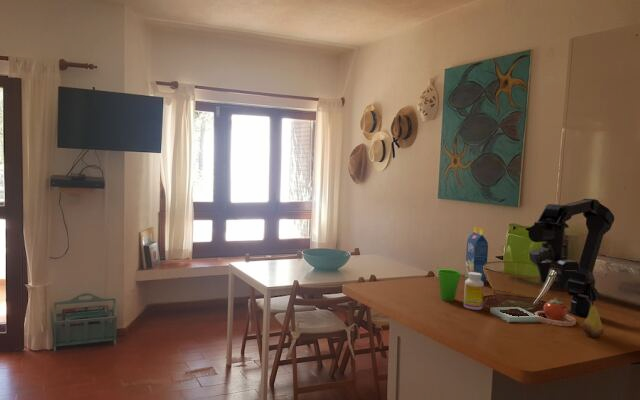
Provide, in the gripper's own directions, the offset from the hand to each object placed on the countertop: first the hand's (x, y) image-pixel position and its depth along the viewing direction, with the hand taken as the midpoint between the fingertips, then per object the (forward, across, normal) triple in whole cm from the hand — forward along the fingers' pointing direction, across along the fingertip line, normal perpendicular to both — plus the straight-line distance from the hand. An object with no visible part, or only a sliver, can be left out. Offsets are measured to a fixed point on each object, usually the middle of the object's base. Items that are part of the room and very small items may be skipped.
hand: (552, 285), depth 166 cm
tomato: (+12, +1, +1) cm, 12 cm away
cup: (+12, -26, -26) cm, 39 cm away
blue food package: (+13, -59, +4) cm, 61 cm away
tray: (+12, -3, -12) cm, 17 cm away
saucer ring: (+12, +1, +1) cm, 12 cm away
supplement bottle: (+12, -15, -21) cm, 28 cm away
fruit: (+12, +17, +2) cm, 21 cm away
